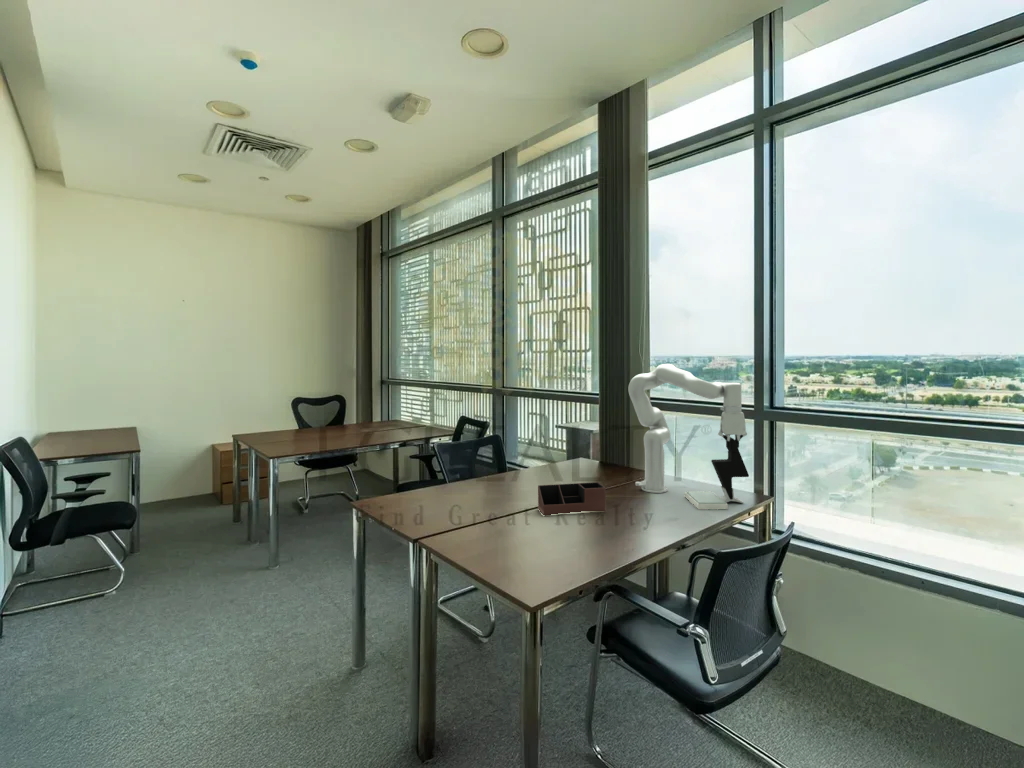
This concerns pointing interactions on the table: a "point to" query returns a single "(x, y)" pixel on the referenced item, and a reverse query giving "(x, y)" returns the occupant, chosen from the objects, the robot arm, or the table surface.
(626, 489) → the table surface
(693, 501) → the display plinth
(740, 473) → the award
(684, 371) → the robot arm
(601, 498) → the desk organizer
